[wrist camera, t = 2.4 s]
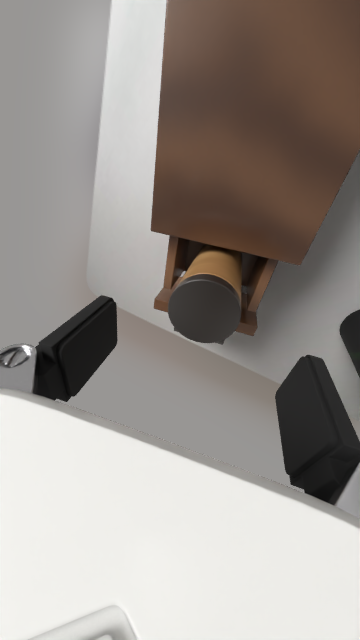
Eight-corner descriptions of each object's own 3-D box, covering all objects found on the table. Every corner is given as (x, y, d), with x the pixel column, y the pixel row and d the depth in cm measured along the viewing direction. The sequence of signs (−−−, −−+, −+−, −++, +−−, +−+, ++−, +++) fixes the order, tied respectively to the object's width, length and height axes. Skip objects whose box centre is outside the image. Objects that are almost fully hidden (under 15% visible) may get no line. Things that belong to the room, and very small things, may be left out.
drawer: (240, 328, 28) (240, 363, 22) (168, 308, 29) (150, 336, 24) (300, 185, 18) (325, 186, 13) (189, 164, 20) (168, 157, 14)
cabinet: (282, 240, 22) (300, 265, 15) (178, 217, 23) (150, 231, 16) (370, 35, 14) (495, -112, 7) (205, 18, 15) (174, -119, 8)
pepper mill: (195, 272, 24) (163, 332, 14) (204, 231, 21) (172, 270, 12) (234, 282, 24) (228, 351, 14) (248, 241, 21) (252, 291, 11)
